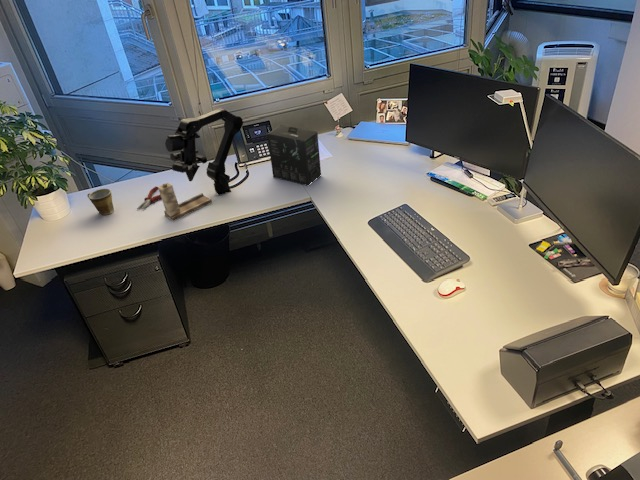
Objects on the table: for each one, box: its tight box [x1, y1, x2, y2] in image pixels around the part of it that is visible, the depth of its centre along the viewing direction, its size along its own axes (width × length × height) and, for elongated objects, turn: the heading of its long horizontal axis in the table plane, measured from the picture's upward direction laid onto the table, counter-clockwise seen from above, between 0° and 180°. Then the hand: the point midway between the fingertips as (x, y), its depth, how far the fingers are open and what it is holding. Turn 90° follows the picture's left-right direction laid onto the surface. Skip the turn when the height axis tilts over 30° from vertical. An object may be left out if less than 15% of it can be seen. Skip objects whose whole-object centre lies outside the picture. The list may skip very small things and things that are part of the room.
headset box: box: [266, 124, 322, 186], centre depth 227 cm, size 22×12×26 cm, turn 58°
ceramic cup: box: [87, 188, 115, 216], centre depth 221 cm, size 13×10×10 cm
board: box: [163, 192, 212, 222], centre depth 218 cm, size 21×8×2 cm, turn 134°
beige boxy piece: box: [157, 182, 180, 216], centre depth 209 cm, size 5×8×15 cm, turn 44°
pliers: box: [136, 186, 162, 210], centre depth 228 cm, size 12×20×3 cm, turn 158°
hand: (190, 181), depth 214 cm, fingers closed
